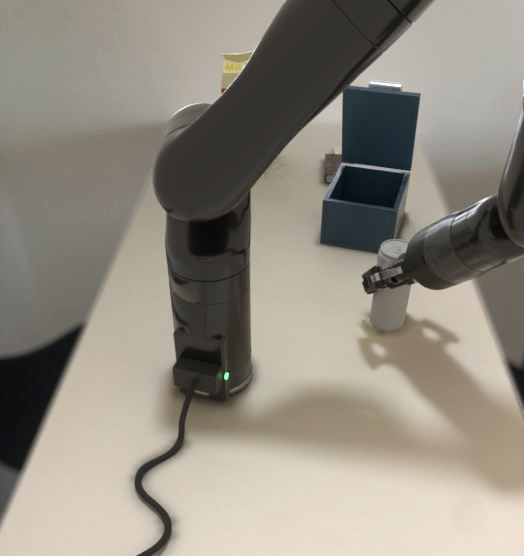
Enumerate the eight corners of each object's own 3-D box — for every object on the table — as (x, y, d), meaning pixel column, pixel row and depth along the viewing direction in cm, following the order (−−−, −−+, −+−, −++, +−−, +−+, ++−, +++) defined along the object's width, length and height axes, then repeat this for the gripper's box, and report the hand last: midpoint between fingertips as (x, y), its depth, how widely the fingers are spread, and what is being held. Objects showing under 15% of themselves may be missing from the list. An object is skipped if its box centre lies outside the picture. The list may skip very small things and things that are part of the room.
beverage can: (403, 312, 96) (416, 239, 88) (405, 334, 92) (418, 259, 84) (368, 310, 96) (378, 237, 88) (369, 332, 92) (379, 257, 85)
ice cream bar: (325, 150, 136) (324, 185, 125) (325, 142, 135) (324, 176, 124) (351, 151, 136) (352, 186, 125) (352, 143, 135) (353, 178, 123)
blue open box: (391, 255, 107) (397, 211, 102) (319, 243, 110) (322, 199, 104) (404, 214, 117) (410, 172, 112) (338, 204, 119) (341, 162, 114)
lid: (420, 96, 99) (425, 75, 102) (342, 87, 102) (349, 67, 104) (410, 171, 111) (415, 151, 114) (341, 161, 114) (348, 142, 116)
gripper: (496, 204, 78) (420, 244, 94) (390, 231, 73) (329, 267, 90) (515, 267, 78) (436, 295, 94) (410, 297, 73) (346, 321, 89)
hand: (384, 281), depth 92 cm, fingers closed on beverage can, 5 cm apart
